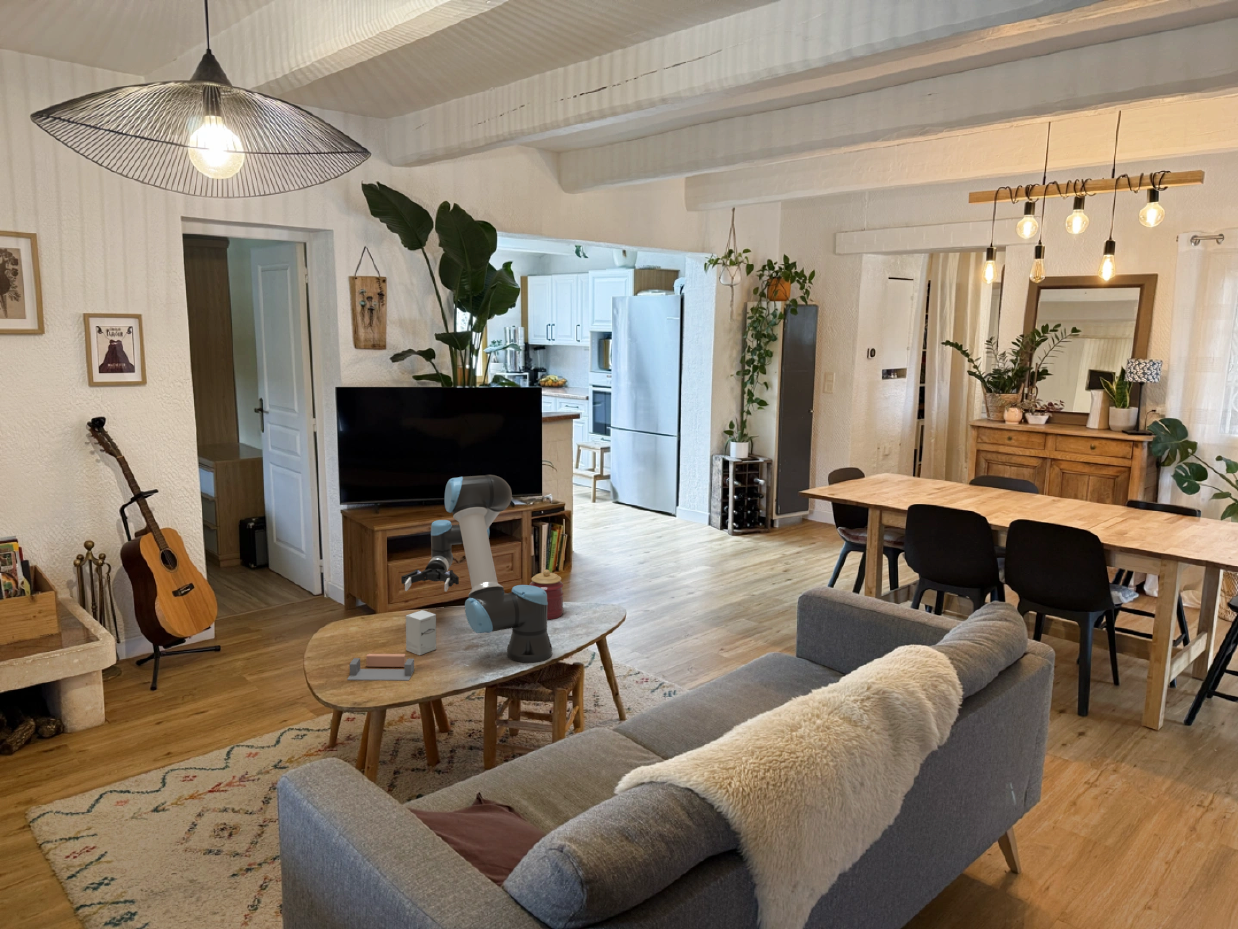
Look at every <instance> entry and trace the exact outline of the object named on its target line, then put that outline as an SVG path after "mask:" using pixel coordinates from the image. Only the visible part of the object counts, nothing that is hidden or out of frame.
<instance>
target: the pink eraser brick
mask: <svg viewBox="0 0 1238 929" xmlns="http://www.w3.org/2000/svg"><path fill="white" fill-rule="evenodd" d="M365 657H366V659H365V660H366V667H376V668H378V667H385V668H386V667H392V668H395V667H396V668H398V667H399V668H400V667H401V668H402V667H403V668H404V665H405V663H406V661H407V658H406V657H407V656H406V653H367V654H366V656H365Z"/></svg>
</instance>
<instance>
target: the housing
mask: <svg viewBox="0 0 1238 929" xmlns="http://www.w3.org/2000/svg"><path fill="white" fill-rule="evenodd" d="M403 668H404V669H401V668H400V669H399V668H395V669H394V668H361V658H359V657H353V659H352V660H351V661H350V663H349V676H348V677H347V679H346V680H347V681H410V679H411V677H412V675H413V673H414V671H415V658H406V663H405V665H404V667H403Z"/></svg>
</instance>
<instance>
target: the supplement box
mask: <svg viewBox="0 0 1238 929" xmlns="http://www.w3.org/2000/svg"><path fill="white" fill-rule="evenodd" d="M435 650H437V614H436V613H432V612H430V611H427V610H423V609H421V610H419V611H418V610H417V611H414V612H413V613H409V614H406V615H405V651H407V652H410V653H412V654H415V655H416V656H422V655H424V654H427V653H429V652H432V651H435Z"/></svg>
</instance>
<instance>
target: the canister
mask: <svg viewBox="0 0 1238 929" xmlns="http://www.w3.org/2000/svg"><path fill="white" fill-rule="evenodd" d="M529 585H531V586H536V587H539V588H542V589H543V590H545V592H546V593H547V602H548V605H547V620H554V619H558V618H561V617H562V616H563V613H564V604H563V603H564V591H563V587H564V583H563V582H562V577H561V576H560V575H558V574H557V573H554V572H551V571H550V570H549V569H544V570H543V572H540V573H536V574H535V575H534V576H532V577H531V582H530V583H529Z"/></svg>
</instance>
